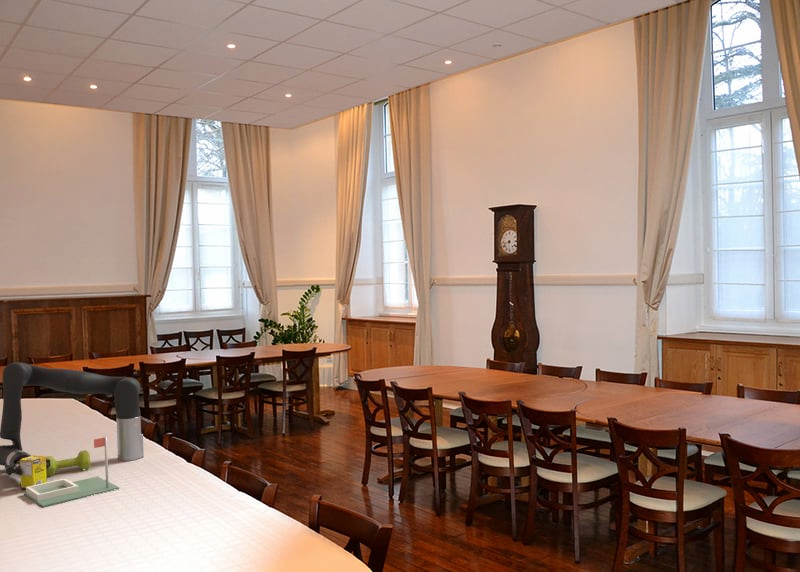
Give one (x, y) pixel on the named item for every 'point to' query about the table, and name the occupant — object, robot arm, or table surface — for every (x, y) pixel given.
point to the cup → (71, 486)
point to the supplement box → (33, 471)
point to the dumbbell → (69, 462)
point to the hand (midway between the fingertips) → (33, 469)
